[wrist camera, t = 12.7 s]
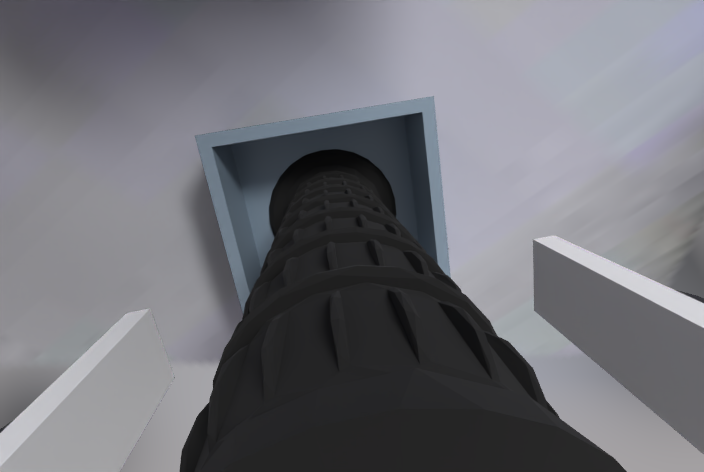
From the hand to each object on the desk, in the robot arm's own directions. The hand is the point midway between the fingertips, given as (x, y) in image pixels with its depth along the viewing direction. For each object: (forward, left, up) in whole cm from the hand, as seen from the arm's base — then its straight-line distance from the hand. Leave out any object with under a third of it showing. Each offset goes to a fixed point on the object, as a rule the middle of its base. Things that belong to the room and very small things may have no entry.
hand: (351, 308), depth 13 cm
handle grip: (0, 0, -17) cm, 17 cm away
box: (0, 0, -18) cm, 18 cm away
